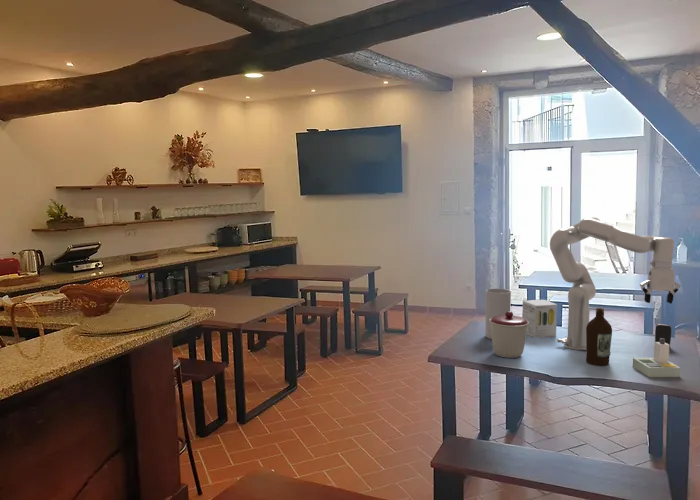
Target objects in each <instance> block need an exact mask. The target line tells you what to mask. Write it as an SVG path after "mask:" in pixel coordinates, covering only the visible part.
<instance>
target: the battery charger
mask: <svg viewBox="0 0 700 500" xmlns="http://www.w3.org/2000/svg"><path fill="white" fill-rule="evenodd" d="M672 333H673V331H672V326H671V325H670V324H668V323H667V324H666V323H657V324H656V325H655V329H654V343H655V342H660V338H664V339H665V343H667V344H669V349H670V348H671V342H672V340H671V339H672Z"/></svg>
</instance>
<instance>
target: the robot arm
mask: <svg viewBox="0 0 700 500" xmlns="http://www.w3.org/2000/svg"><path fill="white" fill-rule="evenodd" d="M588 238H592V239H593V238H594V239H596V240H600V241H603V242H606V243H609V244H611V245H614V246H616V247H618V248H621V249H624V250H628V251H631V252H634V253H636V254H645V253H648V252H649V253H650V252H653V255H652V260H651V261H650V262H649V266H651V267H650V268H649V271H648V275H647V279H646V280H645V281H642V282H641V283H639V286H640V288H641V291H642V292H644V293H643V294H644V302H645V303H647V304H650V303H651V297H652V294H651V293H652V292H653V291H657V292H668V293H666V294H667V295H666V303H668V304H673V301H674V295H676V293H677V292H678V291H679V289H680V288H681V284H679V283H677V282H676V281H675V270H674V268H672V266H673V259H674V258H673V257H674V256H673V255H674V246H675V241H674V239H673V238H672V237H666V236H659V237H658V236H654V235H653V236H652V235H649V234H647V235H645V234H644V235H637V234H634V233H630V232H629V231H625V230H623V229H621V228H620V227H619V226H618V225H615V224H612V223H609V222H606V221H605V222H604V221H602V220H600V218H598V217H594V216H589V217H584V218H582V219H581V220H580V221H579V222H578V223H576V224H574V225H570V226H569V227H562V228H559V229H558V230H556V231H555V232H554V233H553V234H552V235H551V238H550V240H549V249H550V251H551V254H552V256H553V258H554V261H555V263H556V266H557V267H558V270H559V272H560V274H561V275H560V276H561V278H562V279H563V280H564V282H567V283H569V284H572V286H571V287H570V288H569V290H568V294H567V301H568V302H567V303H568V316H567V317H568V319H567V320H568V321H567V336H565V337H563V338H557V340H556V341H557V343H561V344H563V346H564V348H567V349H570V350H574V351H575V350H576V351H586V327H587V324H588V323H589V322H590V301H591V300H593V298H595V296H596V293H597V289H596V286H595V284H594V281H593V279H592V277H591V275H590V272H589V271H588V268H587V267H586V266H585V264H583V263H582V262H580V261H576V259H575V257H574V255H573V253H572V251H571V250H570V248H569V245H572V244H575V243H578V242H581V241H583V240H586V239H588Z"/></svg>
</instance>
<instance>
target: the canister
mask: <svg viewBox="0 0 700 500" xmlns="http://www.w3.org/2000/svg"><path fill="white" fill-rule="evenodd" d="M489 322H490V323H491V334H492V339H491V342H492V343H491V344H492V349H493V353H494V354H495V355H497V356H498V357H502V358H506V359H507V358H508V359H515V358H516V359H517V358H519V357H521V356H522V355H523V353H524V350H525V344H526V338H527V334H526V333H527V325H528V324H529V321H527V320H526V319H524V318H522V316H519V315H514V313H513V312H512V311H511V310H510V311H507V312H506V313H505V315H498V316H494V317H493V318H491V319H489Z"/></svg>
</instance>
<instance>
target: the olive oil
mask: <svg viewBox="0 0 700 500" xmlns="http://www.w3.org/2000/svg"><path fill="white" fill-rule="evenodd" d="M612 336H613V329H612V325H611V324H610V323H609V321H608V320H607V319H606V318H605V308H602V307H596V309H595V316H594V317H593V318H591V320H589V323H588V324H587V327H586V350H585V351H586V352H585V354H586V357H585V361H586V363H587V364H589V365H592V366H597V367H598V366H599V367H604V366H605V367H606V366H609V364H610V356H611V346H612Z"/></svg>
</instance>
